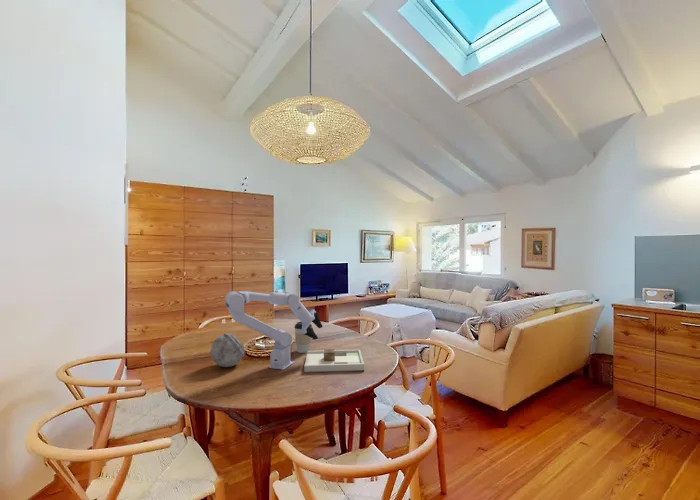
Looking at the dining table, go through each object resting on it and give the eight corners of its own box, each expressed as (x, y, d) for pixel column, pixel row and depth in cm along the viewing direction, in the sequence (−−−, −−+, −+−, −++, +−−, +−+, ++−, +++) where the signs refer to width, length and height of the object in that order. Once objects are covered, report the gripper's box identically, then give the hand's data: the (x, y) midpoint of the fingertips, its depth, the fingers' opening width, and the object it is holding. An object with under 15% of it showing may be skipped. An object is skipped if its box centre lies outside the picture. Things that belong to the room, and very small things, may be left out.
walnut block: (323, 361, 146) (323, 352, 146) (324, 357, 151) (324, 349, 151) (334, 361, 146) (334, 352, 146) (334, 357, 151) (334, 348, 151)
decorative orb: (249, 366, 145) (249, 333, 145) (217, 375, 136) (217, 339, 136) (237, 358, 156) (236, 327, 156) (206, 365, 147) (205, 332, 147)
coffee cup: (303, 354, 161) (303, 325, 161) (290, 351, 166) (290, 322, 166) (315, 350, 168) (315, 321, 168) (303, 347, 173) (303, 319, 173)
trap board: (304, 372, 138) (304, 365, 138) (307, 356, 158) (307, 350, 158) (364, 371, 139) (364, 364, 139) (360, 355, 159) (360, 349, 159)
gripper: (303, 321, 144) (320, 342, 149) (313, 300, 156) (328, 320, 161) (291, 325, 148) (308, 345, 152) (302, 305, 160) (318, 324, 164)
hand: (318, 332), depth 157 cm, fingers open, 7 cm apart
